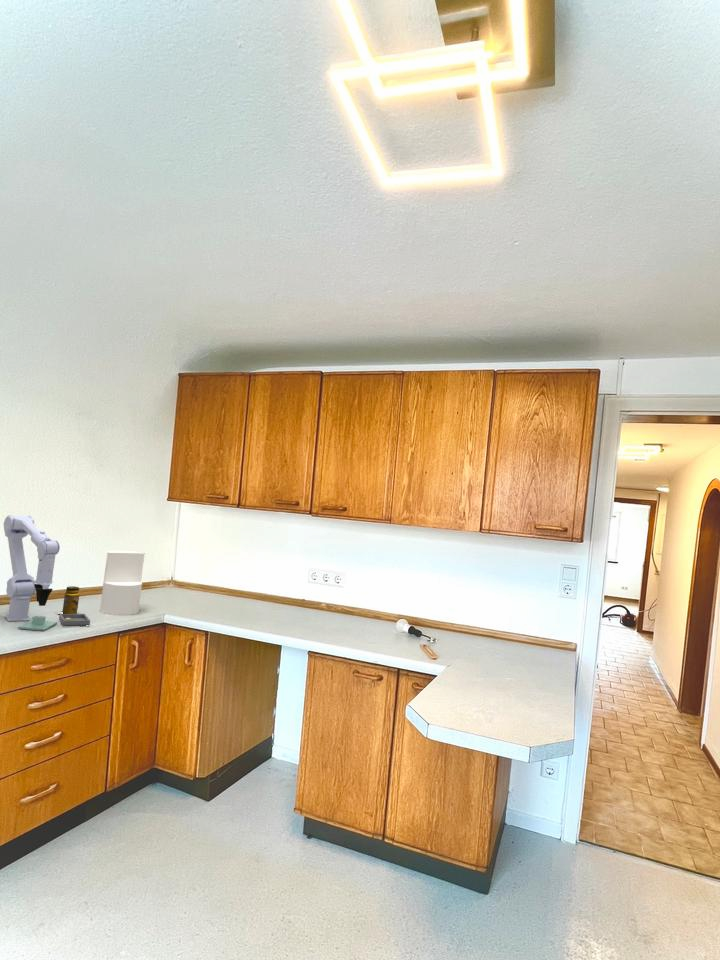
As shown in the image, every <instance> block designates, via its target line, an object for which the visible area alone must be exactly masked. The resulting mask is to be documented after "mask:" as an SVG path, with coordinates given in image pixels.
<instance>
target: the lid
mask: <svg viewBox="0 0 720 960" xmlns="http://www.w3.org/2000/svg"><path fill="white" fill-rule="evenodd" d="M55 625H58V621H51V620H46V616H41V615H34V616H32V619H31V620H29V621H27V622H25V623H23V624H21V625H18V626H17V630H18V629H19V630H32V631H43V632H44V631H47V630H48V629H50V628H52V627H53V626H55Z"/></svg>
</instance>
